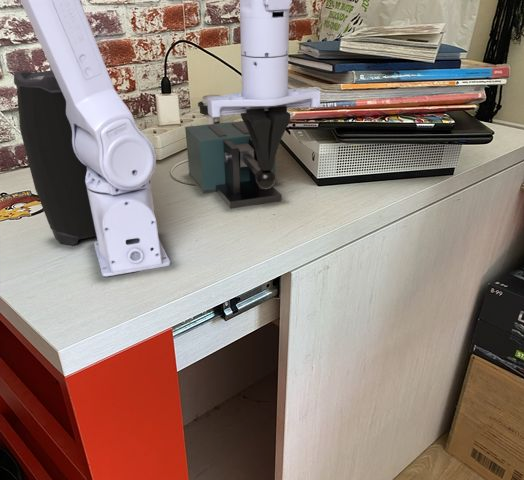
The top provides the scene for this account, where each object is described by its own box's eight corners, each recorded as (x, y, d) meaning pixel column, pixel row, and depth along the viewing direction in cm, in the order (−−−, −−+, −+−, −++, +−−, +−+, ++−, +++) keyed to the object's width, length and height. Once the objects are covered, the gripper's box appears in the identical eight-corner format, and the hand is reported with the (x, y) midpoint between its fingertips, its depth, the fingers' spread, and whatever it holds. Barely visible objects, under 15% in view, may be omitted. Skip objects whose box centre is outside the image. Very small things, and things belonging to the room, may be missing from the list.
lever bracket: (281, 202, 81) (281, 148, 76) (230, 209, 78) (228, 155, 74) (258, 181, 88) (257, 131, 84) (211, 187, 86) (208, 137, 81)
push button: (210, 148, 104) (207, 91, 98) (236, 150, 102) (234, 93, 96) (197, 158, 99) (192, 99, 93) (224, 160, 97) (221, 101, 91)
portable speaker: (35, 242, 70) (-12, 75, 59) (82, 217, 77) (48, 63, 65) (88, 252, 67) (50, 79, 56) (132, 225, 74) (106, 66, 63)
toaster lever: (278, 190, 74) (279, 171, 72) (259, 193, 73) (259, 173, 71) (249, 160, 82) (249, 141, 80) (232, 162, 81) (232, 143, 79)
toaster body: (276, 184, 87) (276, 132, 82) (203, 194, 83) (199, 140, 79) (256, 167, 94) (256, 118, 89) (188, 176, 90) (184, 125, 86)
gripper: (306, 46, 69) (302, 153, 78) (197, 53, 65) (205, 165, 74) (330, 53, 64) (323, 168, 72) (213, 62, 60) (220, 182, 68)
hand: (265, 168), depth 73 cm, fingers closed
